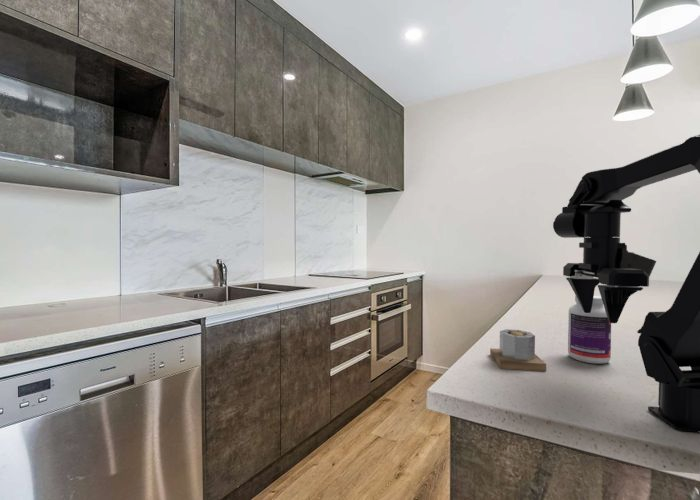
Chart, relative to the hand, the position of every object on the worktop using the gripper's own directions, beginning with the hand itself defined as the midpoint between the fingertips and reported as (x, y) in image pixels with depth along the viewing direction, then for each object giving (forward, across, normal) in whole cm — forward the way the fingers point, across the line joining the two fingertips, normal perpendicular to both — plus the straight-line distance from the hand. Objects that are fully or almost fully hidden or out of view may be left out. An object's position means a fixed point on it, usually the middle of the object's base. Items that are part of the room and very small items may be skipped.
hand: (599, 317), depth 68 cm
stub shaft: (+12, +7, +13) cm, 19 cm away
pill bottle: (+12, +12, -4) cm, 18 cm away
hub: (+10, +7, +13) cm, 18 cm away
